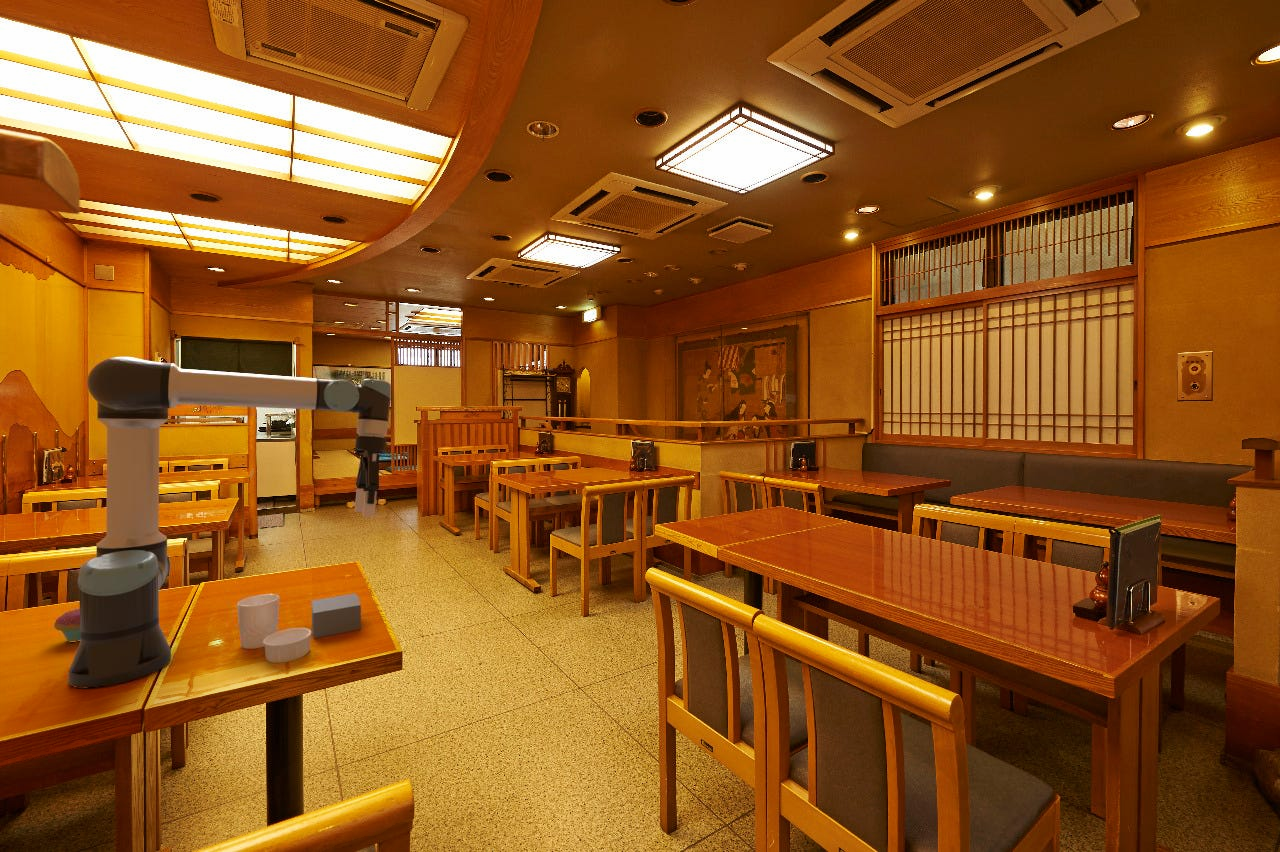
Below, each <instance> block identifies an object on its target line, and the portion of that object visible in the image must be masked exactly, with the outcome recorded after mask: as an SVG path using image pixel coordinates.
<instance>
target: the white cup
mask: <svg viewBox="0 0 1280 852" xmlns="http://www.w3.org/2000/svg"><path fill="white" fill-rule="evenodd" d="M236 605H237V607H236V608H237V618H238V620H237V621H238V628H239V629H238V630H239V635H240V647H241V648H243V649H244V650H248V649H249V650H252V649H259V648H263V647H264V648H265V646H264V644H263V640H264V639H265V638H266V637H267V636H269V635H271V634H273V633H276V632H278V628H279V616H280V615H279V614H280V613H279V612H280V610H279V609H280V595H278V594H274V593H266V594H264V593H263V594H258V595H253V596H248V597H246V598H242V599H241V600H238V602H237V603H236Z"/></svg>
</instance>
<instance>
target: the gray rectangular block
mask: <svg viewBox="0 0 1280 852" xmlns="http://www.w3.org/2000/svg"><path fill="white" fill-rule="evenodd" d="M361 606H362V605H361V602H360V599H359V595H358V593H350V594H349V593H348V594H343V595H338V596H332V597H331V596H330V597H326V598H317V599H313V600H311V628H312V630H311V631H312V639H317V638H323V637H328V636H333V635H337V634H338V635H339V634H342V633H348V632H353V630H355V631H359V630H358V629H360V630H362V609H361V608H362V607H361Z"/></svg>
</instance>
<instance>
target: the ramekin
mask: <svg viewBox="0 0 1280 852" xmlns="http://www.w3.org/2000/svg"><path fill="white" fill-rule="evenodd" d="M312 634H313V631H312V630H311V629H310V628H306V627H296V628H295V627H294V628H293V627H292V628H286V629H282V630H279V631H278V630H277V632H276V633H273V634H271V635H269V636H267V637H266V638H265V639H264V640H263V644H264V652H265V659H266V661H267V662H268V663H273V664H283V663H287V662H288V663H289V662H292V661H296V660H299V659H300V658H302V657H304V656H306V655H307V654H308V653H309V652H310V647H311V636H312Z"/></svg>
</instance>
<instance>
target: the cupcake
mask: <svg viewBox="0 0 1280 852" xmlns="http://www.w3.org/2000/svg"><path fill="white" fill-rule="evenodd" d="M53 626H54V629H56V630H57V631H61V633H62V634H63V635H64V636H63V637H65V639H66V641H67V640H68V641H78V640H81V633H80V608H75V609H72V610H68V611H67V612H65V613H63V614H62V615H60V616H58V618H57V619H55V622H54V625H53Z"/></svg>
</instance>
